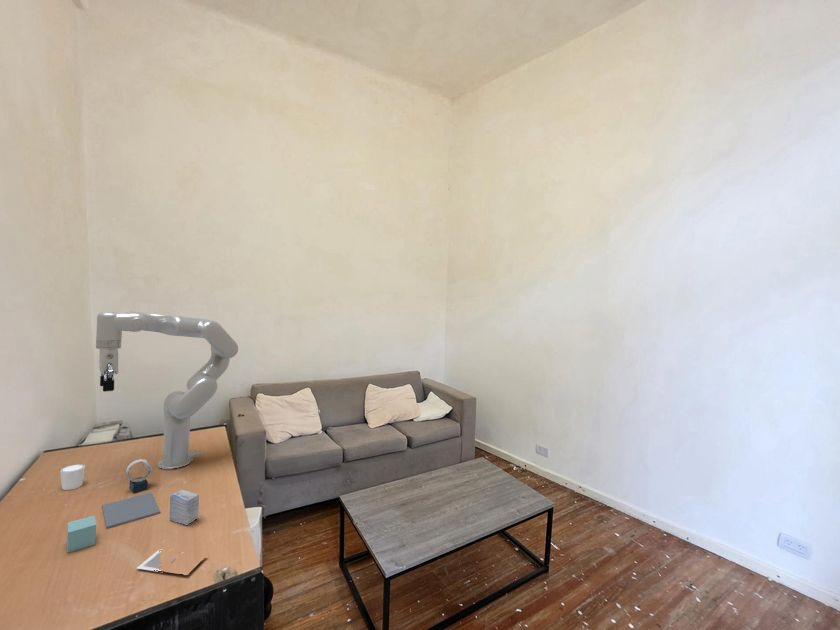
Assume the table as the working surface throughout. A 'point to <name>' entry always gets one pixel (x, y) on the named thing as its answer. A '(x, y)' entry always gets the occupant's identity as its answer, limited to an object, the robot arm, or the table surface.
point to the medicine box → (184, 506)
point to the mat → (129, 509)
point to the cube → (81, 533)
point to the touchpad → (153, 562)
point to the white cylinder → (72, 476)
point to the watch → (140, 482)
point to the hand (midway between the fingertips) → (106, 388)
